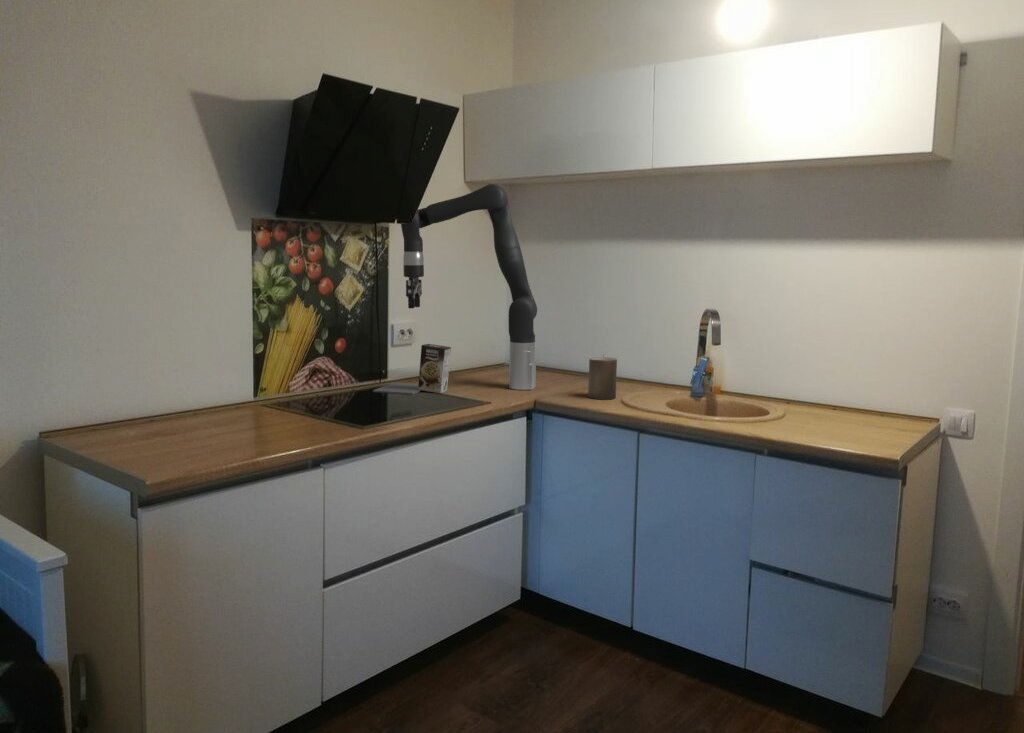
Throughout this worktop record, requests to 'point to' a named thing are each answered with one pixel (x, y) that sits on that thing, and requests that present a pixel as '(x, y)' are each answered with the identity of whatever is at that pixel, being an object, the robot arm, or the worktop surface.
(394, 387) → the mat
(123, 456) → the worktop surface
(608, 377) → the pillar candle
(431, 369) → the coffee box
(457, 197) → the robot arm
